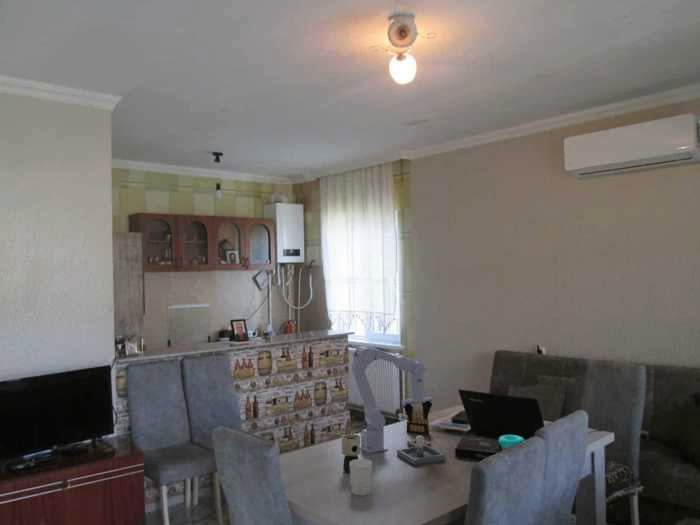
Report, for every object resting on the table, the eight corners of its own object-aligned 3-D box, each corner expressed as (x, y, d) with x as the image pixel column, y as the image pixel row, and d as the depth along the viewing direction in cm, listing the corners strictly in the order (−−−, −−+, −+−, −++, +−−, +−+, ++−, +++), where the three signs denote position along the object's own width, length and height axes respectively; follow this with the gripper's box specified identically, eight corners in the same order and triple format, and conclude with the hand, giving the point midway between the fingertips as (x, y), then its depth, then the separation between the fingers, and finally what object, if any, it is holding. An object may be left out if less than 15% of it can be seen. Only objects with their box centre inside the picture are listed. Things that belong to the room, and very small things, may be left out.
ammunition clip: (406, 432, 261) (405, 407, 261) (407, 431, 262) (407, 406, 263) (428, 435, 256) (427, 409, 256) (429, 434, 258) (428, 408, 258)
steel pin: (418, 457, 222) (418, 437, 222) (415, 455, 225) (415, 435, 225) (425, 456, 223) (424, 437, 223) (422, 454, 226) (421, 434, 226)
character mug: (350, 477, 204) (350, 441, 204) (335, 473, 208) (334, 439, 209) (367, 468, 213) (366, 434, 213) (351, 465, 217) (351, 432, 218)
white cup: (359, 485, 196) (359, 457, 196) (377, 491, 191) (376, 461, 191) (345, 492, 190) (344, 463, 190) (363, 498, 185) (362, 468, 185)
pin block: (415, 450, 234) (415, 445, 234) (407, 445, 241) (407, 441, 241) (431, 448, 237) (431, 443, 237) (422, 443, 244) (422, 438, 244)
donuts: (521, 433, 221) (528, 441, 211) (522, 459, 221) (528, 467, 211) (496, 433, 222) (501, 441, 212) (496, 459, 222) (502, 467, 212)
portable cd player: (501, 449, 234) (501, 440, 234) (496, 462, 218) (496, 452, 218) (462, 446, 240) (462, 436, 240) (455, 458, 224) (455, 448, 225)
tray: (414, 466, 215) (414, 459, 215) (397, 455, 228) (396, 449, 228) (444, 460, 220) (444, 454, 220) (426, 450, 233) (426, 445, 233)
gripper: (407, 392, 237) (407, 424, 237) (436, 389, 243) (436, 420, 243) (399, 389, 244) (400, 420, 243) (427, 386, 249) (428, 416, 249)
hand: (417, 420), depth 243 cm, fingers open, 7 cm apart
